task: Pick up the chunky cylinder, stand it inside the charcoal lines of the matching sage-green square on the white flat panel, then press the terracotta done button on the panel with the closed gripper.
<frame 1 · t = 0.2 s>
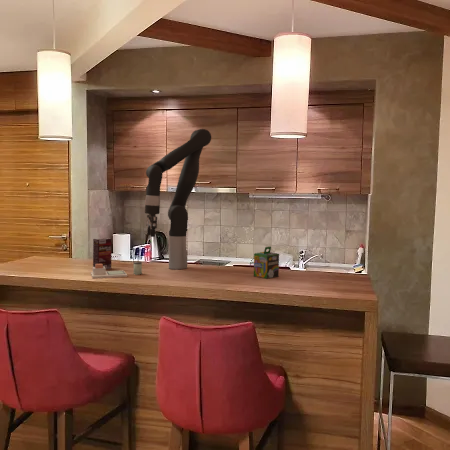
hand: (150, 235, 249), 18 cm above the countertop, tool pointing down, fingers open, 8 cm apart
supplement box: (102, 269, 251), on the countertop
white flat panel: (108, 275, 234), on the countertop
done button: (99, 266, 232), point 4 cm above the countertop, slide at 0.0 cm
cylinder: (137, 274, 239), on the countertop
chalk box: (266, 276, 237), on the countertop
button housing: (99, 275, 232), resting on white flat panel
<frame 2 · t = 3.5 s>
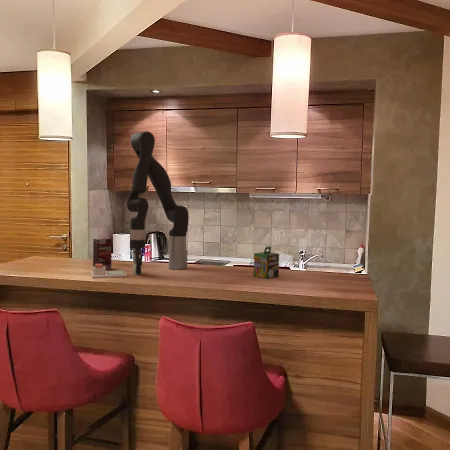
hand: (137, 272, 239), 1 cm above the countertop, tool pointing down, fingers closed on cylinder, 4 cm apart
cylinder: (137, 273, 239), on the countertop, touching gripper
everything else where it was.
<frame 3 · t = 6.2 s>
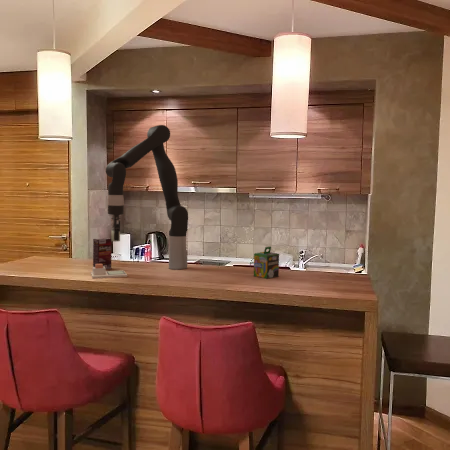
hand: (115, 239, 234), 17 cm above the countertop, tool pointing down, fingers closed on cylinder, 4 cm apart
cylinder: (115, 241, 234), point 17 cm above the countertop, touching gripper
everything else where it was.
when the fingers open (3 cm above the countertop, at t = 9.2 s): cylinder drops 1 cm, resting on white flat panel.
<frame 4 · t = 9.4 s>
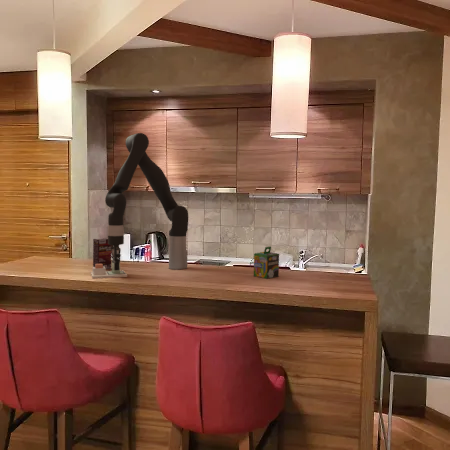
hand: (116, 268, 235), 3 cm above the countertop, tool pointing down, fingers open, 5 cm apart
cylinder: (115, 272, 235), point 1 cm above the countertop, touching white flat panel
everything else where it was.
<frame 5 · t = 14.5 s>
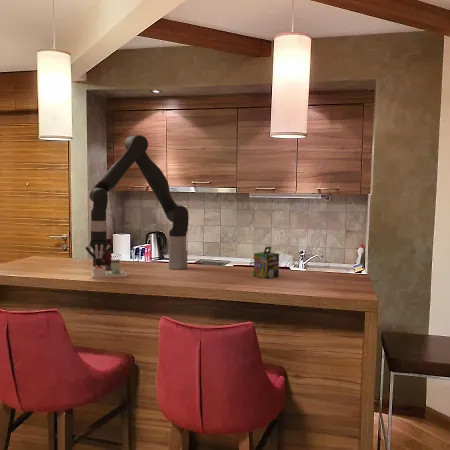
hand: (98, 266, 232), 5 cm above the countertop, tool pointing down, fingers closed
done button: (99, 268, 232), point 4 cm above the countertop, slide at 0.8 cm, touching gripper
everything else where it was.
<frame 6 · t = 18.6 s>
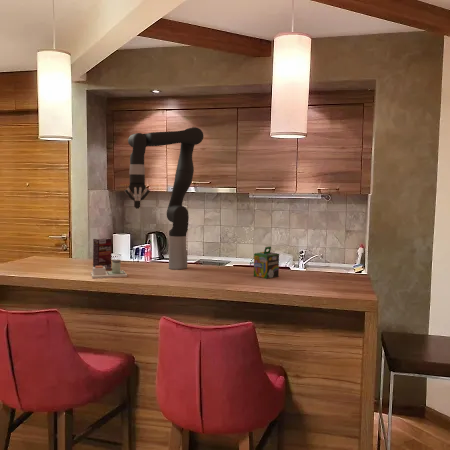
hand: (137, 208, 243), 32 cm above the countertop, tool pointing down, fingers closed
done button: (99, 268, 232), point 3 cm above the countertop, slide at 1.0 cm
everything else where it was.
at the end: cylinder 0.1 cm from the target spot on the white flat panel, point 1.2 cm above the white flat panel's base; cylinder tilted 3°; done button slide at 1.0 cm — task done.
